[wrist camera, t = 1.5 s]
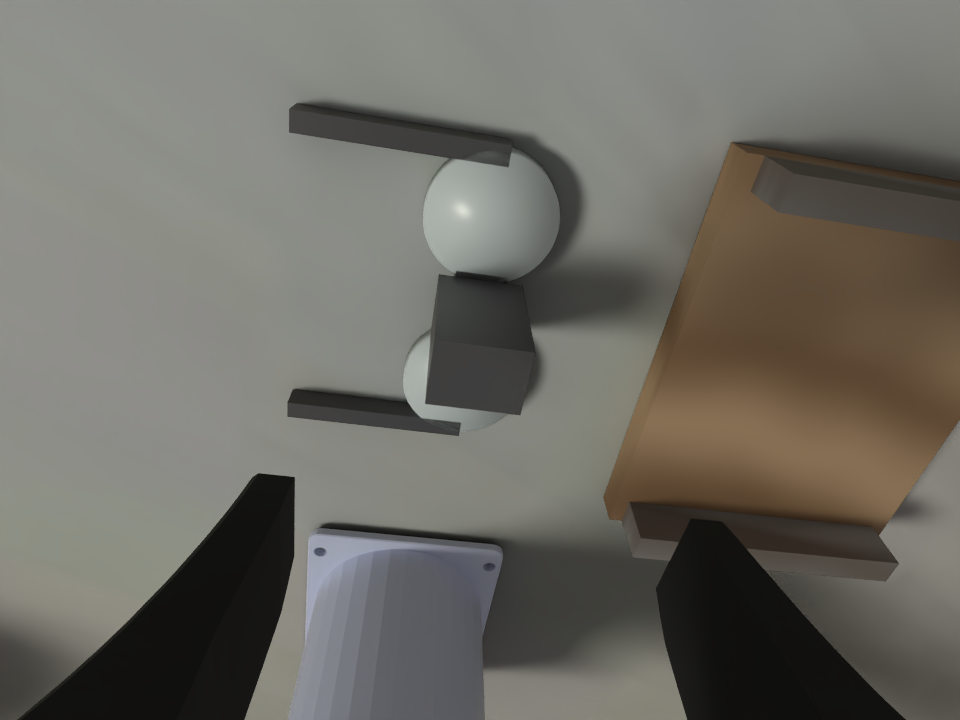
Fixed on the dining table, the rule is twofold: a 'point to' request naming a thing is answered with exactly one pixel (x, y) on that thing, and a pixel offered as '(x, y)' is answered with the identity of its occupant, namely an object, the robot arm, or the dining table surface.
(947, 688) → the dining table surface
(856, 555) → the stand
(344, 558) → the robot arm
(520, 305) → the spectacles
